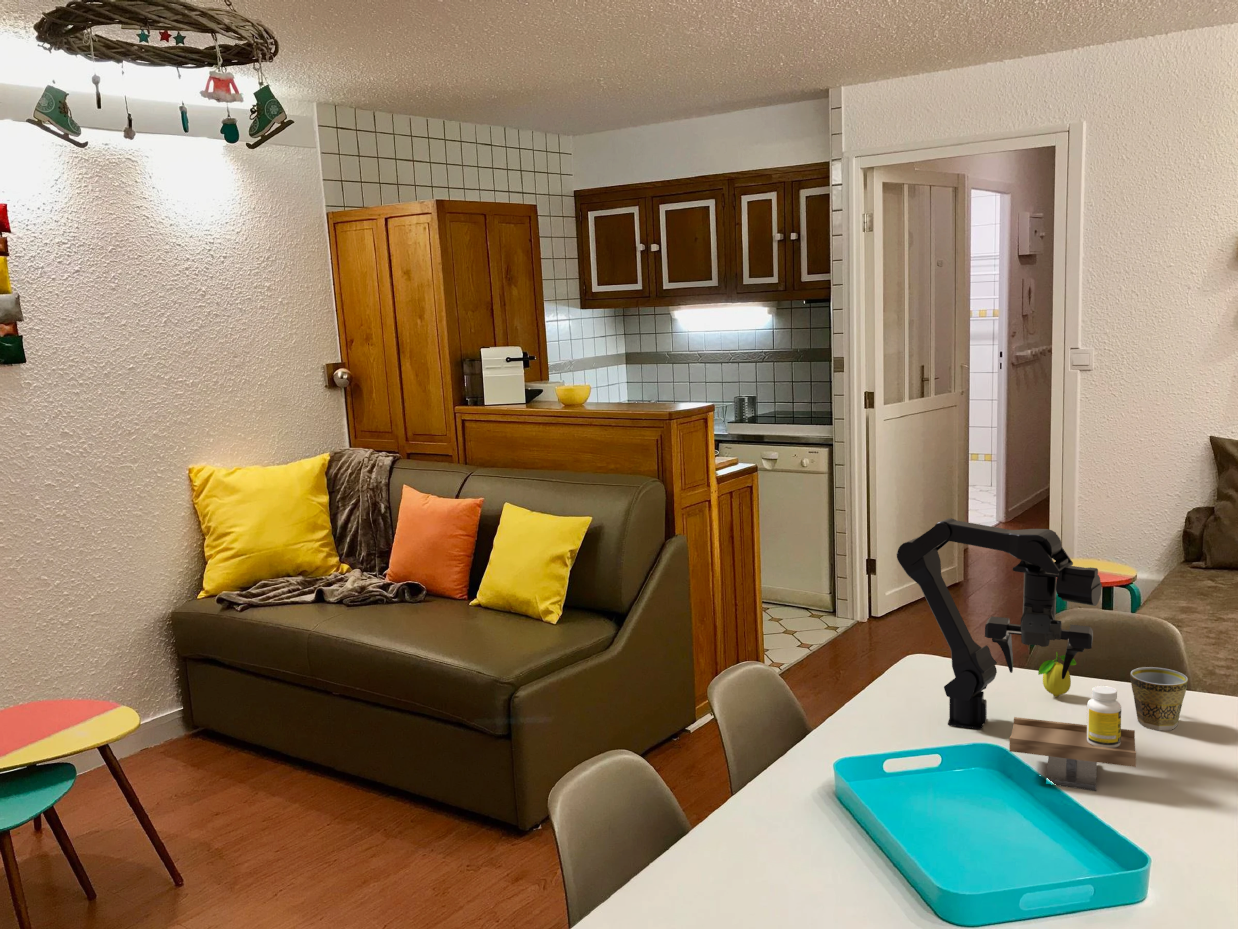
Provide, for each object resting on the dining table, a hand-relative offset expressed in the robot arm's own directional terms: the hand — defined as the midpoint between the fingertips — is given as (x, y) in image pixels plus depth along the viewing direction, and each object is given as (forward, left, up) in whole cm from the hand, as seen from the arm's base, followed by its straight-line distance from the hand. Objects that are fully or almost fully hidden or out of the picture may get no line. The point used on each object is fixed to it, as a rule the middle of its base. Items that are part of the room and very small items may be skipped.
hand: (1036, 675), depth 196 cm
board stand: (+7, -14, -13) cm, 20 cm away
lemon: (+3, +24, -13) cm, 27 cm away
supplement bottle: (+12, -14, -6) cm, 19 cm away
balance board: (+7, -14, -8) cm, 17 cm away
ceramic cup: (+21, +16, -13) cm, 29 cm away
